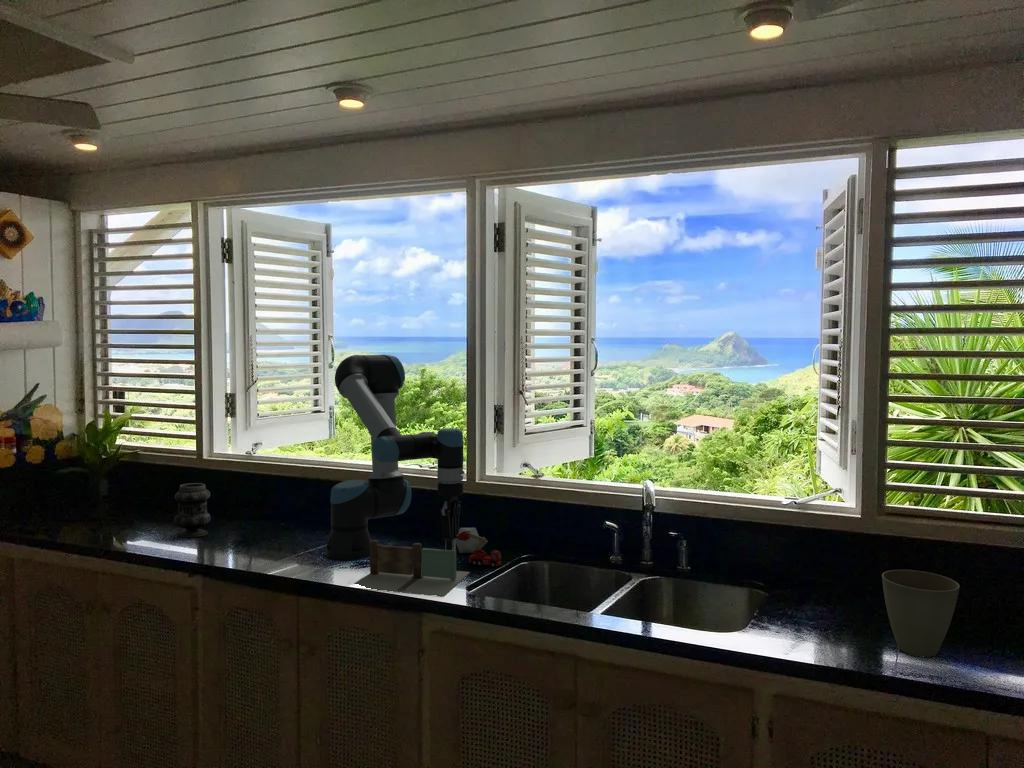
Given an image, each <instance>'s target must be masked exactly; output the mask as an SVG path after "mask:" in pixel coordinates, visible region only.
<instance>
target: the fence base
mask: <svg viewBox="0 0 1024 768" xmlns="http://www.w3.org/2000/svg"><path fill="white" fill-rule="evenodd" d="M421 549H423V548H422V543H419V542H416V543H413V544H412V546H403V545H402V546H401V545H389V544H379V540H378V539H371V541H370V556H369V572H370V574H371V575H376V574H378V572H382V573H393V574H404V575H412V574H413V578H421V577H422V552H421Z"/></svg>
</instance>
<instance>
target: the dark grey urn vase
mask: <svg viewBox="0 0 1024 768" xmlns="http://www.w3.org/2000/svg"><path fill="white" fill-rule="evenodd" d="M210 498H211V492H210V491H209V490H208V489H207V487H206V484H205V483H202V482H200V483H199V482H193V483H192V482H190V483H189V482H188V483H183V484H180V485H179V489H178V491H177V492H176V493H175V494H174V500H175V501H176V502H177V503H178V505H177V506H178V507H177V508H178V509H177V514H176V515H175V517H174V519H173V522H174V524H175V525H176V526H178V527H179V528H183V529H185V530H183V531H182V532H179V533H178V534H177V537H179V538H182V539H183V538H184V539H192V538H199V537H203V536H206V535H208V534H209V533H208V530H205V529H202V528H201V527H203V526H206V525H207V524H208V523H210V522H211V514H210V513H209V512H208V500H209V499H210Z"/></svg>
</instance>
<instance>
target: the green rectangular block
mask: <svg viewBox="0 0 1024 768" xmlns="http://www.w3.org/2000/svg"><path fill="white" fill-rule="evenodd" d="M421 552H422V576H427V577H439V578H450V580H453V581H454V580H455V579H456V571H457V549H456V550H454V549H452V550H445V549H440V548H431V547H429V548H427V547H423V548H422V549H421Z"/></svg>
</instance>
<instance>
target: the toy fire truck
mask: <svg viewBox="0 0 1024 768" xmlns="http://www.w3.org/2000/svg"><path fill="white" fill-rule="evenodd" d="M458 536H459V538H458V540H463V541H466V540H468V539H470V537H471V538H474V539H477V540H479V543H478V545H477V546H476V548H475V549H474V553H473V554H470V555H469V556H468V563H469V564H473V565H474V566H475V565H478V566H481V565H485V566H486V565H487V566H491V567H493V568H494V567H498V566H501V565H502V554H501V552H500V551H499V550H496V549H494V550H492V551H490V555H487V552H485V551H484V550H482V548H483V547H485V545H486V544H487V543H488V542H489V541H488V540H487V538H485V536H483V537H482V536H480V535H479V536H477V535H474V534H472V533H471V532H470V531H465V532H461V533H460V534H458Z"/></svg>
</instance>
